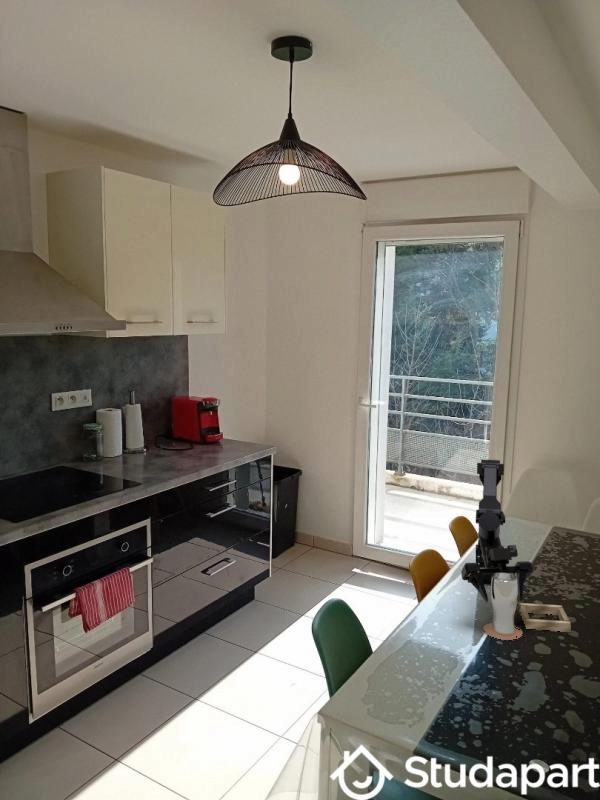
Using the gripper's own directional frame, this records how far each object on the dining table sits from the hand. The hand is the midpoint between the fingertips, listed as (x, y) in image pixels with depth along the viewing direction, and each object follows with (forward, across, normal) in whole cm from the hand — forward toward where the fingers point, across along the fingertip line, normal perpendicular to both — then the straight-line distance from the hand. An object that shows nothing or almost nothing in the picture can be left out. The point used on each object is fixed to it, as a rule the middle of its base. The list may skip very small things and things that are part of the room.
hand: (504, 600), depth 170 cm
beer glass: (+6, 0, +7) cm, 9 cm away
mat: (+6, 0, +6) cm, 9 cm away
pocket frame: (+2, +13, +10) cm, 17 cm away
